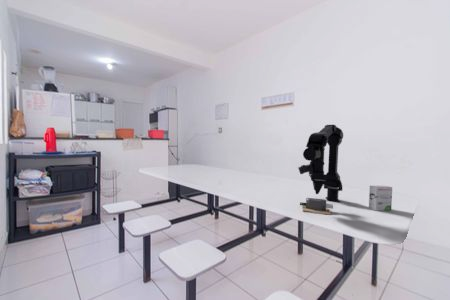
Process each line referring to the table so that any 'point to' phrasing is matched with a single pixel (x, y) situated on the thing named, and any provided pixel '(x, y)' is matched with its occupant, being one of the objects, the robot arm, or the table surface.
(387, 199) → the ink box
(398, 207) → the table surface
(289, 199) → the table surface
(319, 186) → the robot arm
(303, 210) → the light brown wooden board
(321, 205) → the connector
